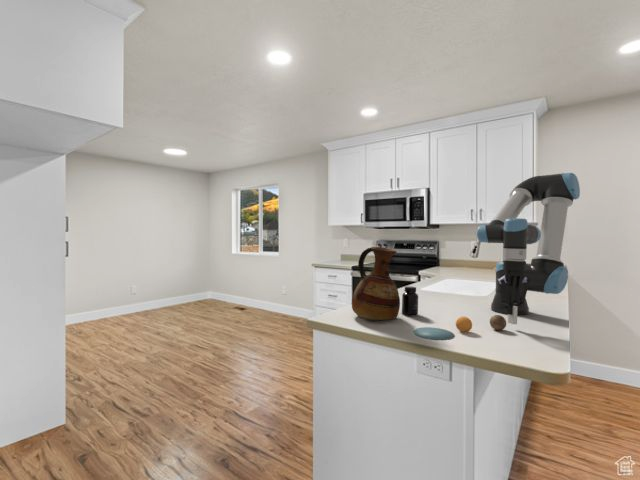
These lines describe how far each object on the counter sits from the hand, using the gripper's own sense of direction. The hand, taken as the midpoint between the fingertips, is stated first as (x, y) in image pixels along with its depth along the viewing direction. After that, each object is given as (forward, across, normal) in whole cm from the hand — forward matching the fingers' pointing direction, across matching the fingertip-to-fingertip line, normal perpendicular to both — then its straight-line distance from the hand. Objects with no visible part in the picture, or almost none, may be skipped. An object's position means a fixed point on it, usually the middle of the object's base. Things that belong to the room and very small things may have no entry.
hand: (512, 323), depth 125 cm
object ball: (0, -20, +1) cm, 20 cm away
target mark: (+3, -32, +1) cm, 32 cm away
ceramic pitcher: (+3, -44, +25) cm, 51 cm away
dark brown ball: (0, -6, 0) cm, 6 cm away
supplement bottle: (+3, -27, +28) cm, 39 cm away
